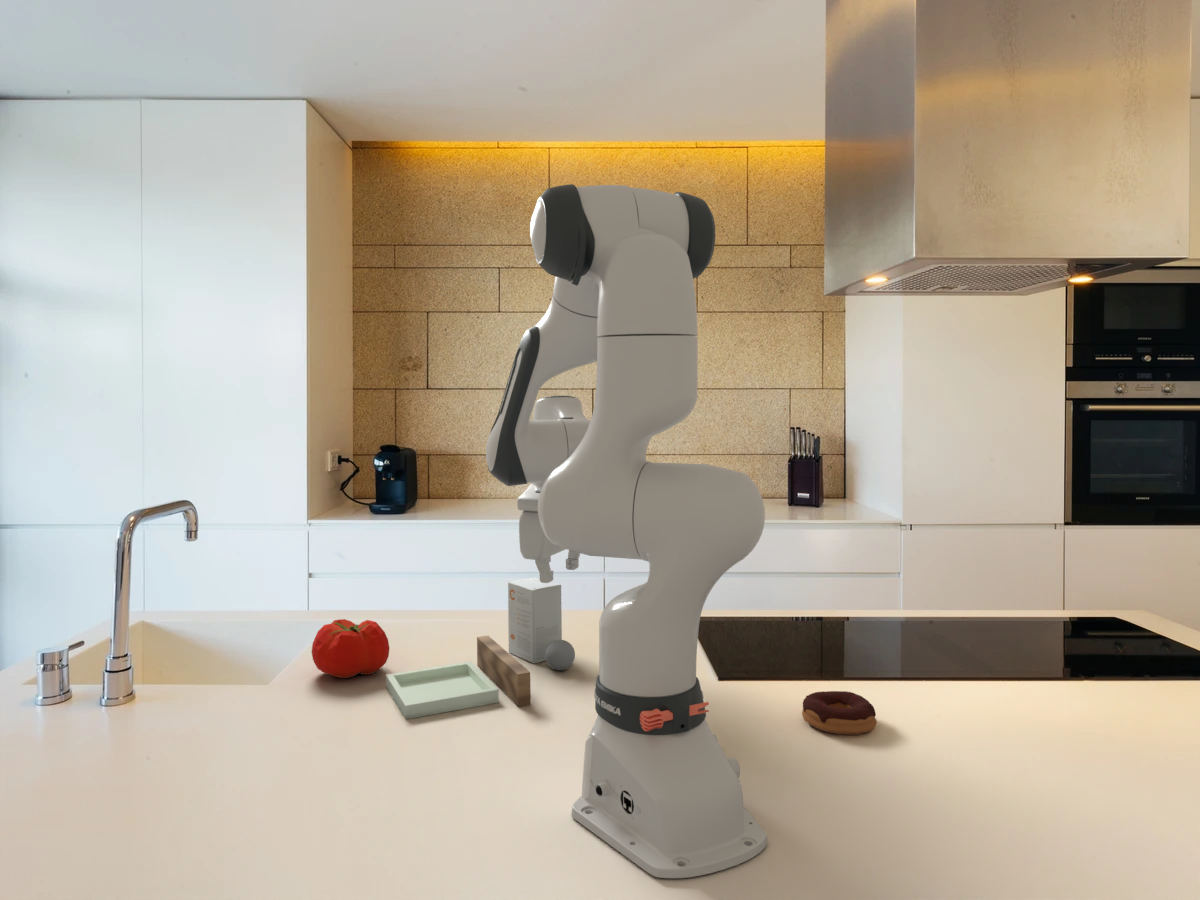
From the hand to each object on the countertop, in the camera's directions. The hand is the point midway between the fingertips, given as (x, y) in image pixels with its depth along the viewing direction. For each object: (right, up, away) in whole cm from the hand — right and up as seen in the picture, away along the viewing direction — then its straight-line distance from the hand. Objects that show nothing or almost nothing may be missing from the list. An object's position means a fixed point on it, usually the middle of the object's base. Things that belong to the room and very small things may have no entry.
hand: (559, 575), depth 134 cm
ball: (0, -14, +1) cm, 14 cm away
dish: (-18, -17, -10) cm, 27 cm away
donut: (+40, -18, -21) cm, 49 cm away
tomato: (-35, -17, 0) cm, 39 cm away
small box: (-5, -16, +9) cm, 19 cm away
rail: (-9, -17, -6) cm, 20 cm away
